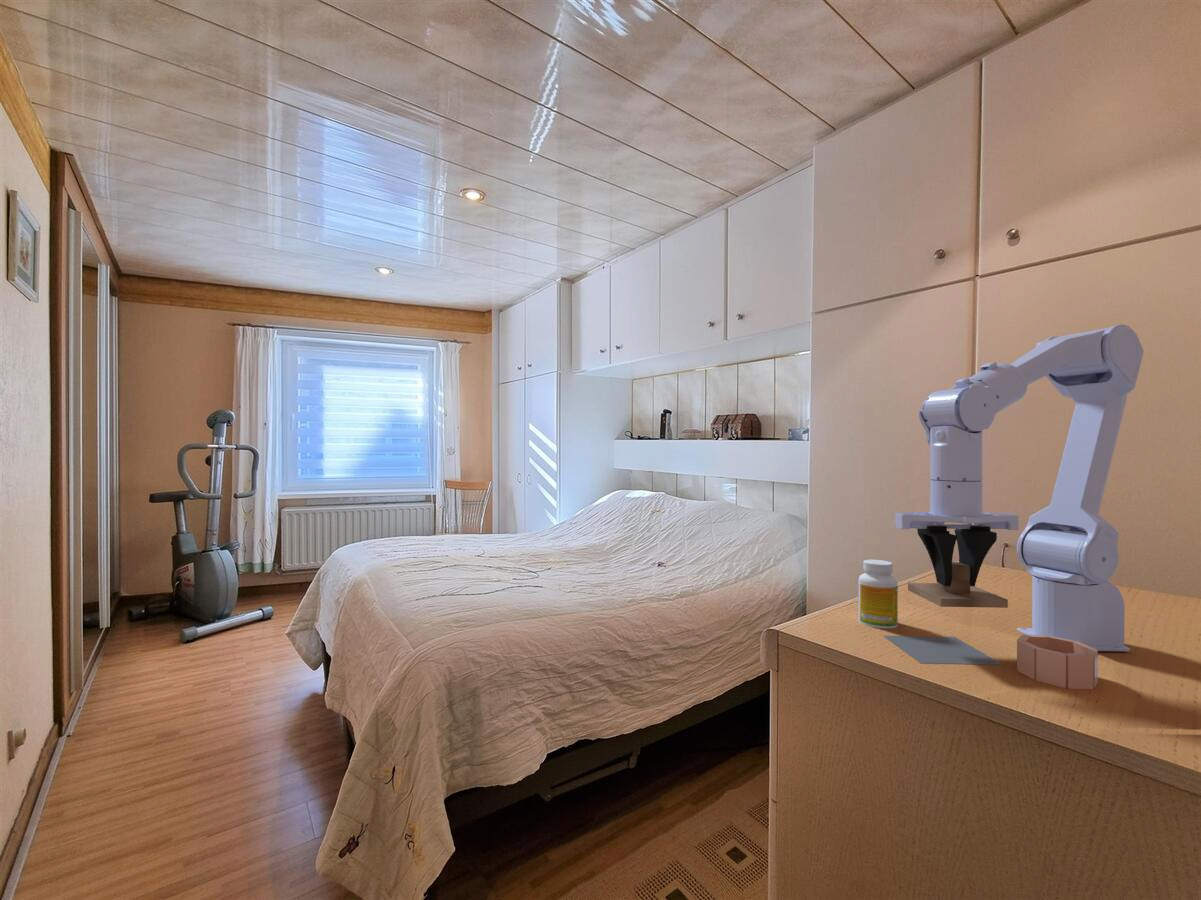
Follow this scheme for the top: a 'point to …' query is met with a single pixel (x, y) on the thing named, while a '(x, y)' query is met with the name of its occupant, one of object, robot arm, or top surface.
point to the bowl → (1057, 661)
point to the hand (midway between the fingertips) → (955, 584)
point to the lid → (958, 591)
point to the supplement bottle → (878, 595)
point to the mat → (941, 650)
